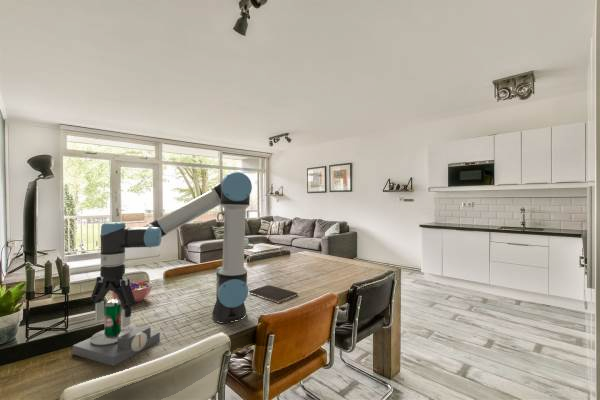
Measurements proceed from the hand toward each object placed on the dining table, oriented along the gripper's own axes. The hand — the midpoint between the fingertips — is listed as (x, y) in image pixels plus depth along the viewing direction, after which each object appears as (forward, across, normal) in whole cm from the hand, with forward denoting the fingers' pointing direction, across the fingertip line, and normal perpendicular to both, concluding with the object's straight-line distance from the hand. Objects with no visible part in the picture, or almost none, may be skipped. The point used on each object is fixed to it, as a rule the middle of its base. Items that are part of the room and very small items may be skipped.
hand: (112, 322), depth 103 cm
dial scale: (+8, +3, 0) cm, 9 cm away
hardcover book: (+9, +31, +71) cm, 78 cm away
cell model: (+8, -33, +34) cm, 48 cm away
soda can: (+4, 0, 0) cm, 4 cm away
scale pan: (+5, 0, 0) cm, 5 cm away
